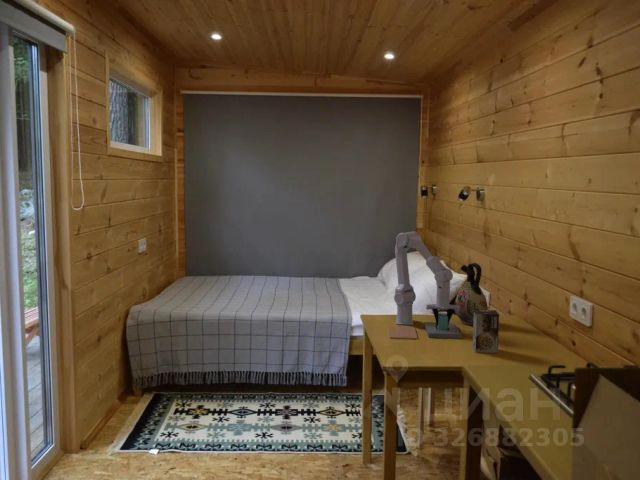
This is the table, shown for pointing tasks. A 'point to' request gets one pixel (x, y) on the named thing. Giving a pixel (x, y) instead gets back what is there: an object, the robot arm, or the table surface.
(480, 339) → the coffee box
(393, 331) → the terracotta tile
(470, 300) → the ceramic jug
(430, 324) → the pocket board
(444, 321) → the teal block
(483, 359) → the table surface
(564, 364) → the table surface
